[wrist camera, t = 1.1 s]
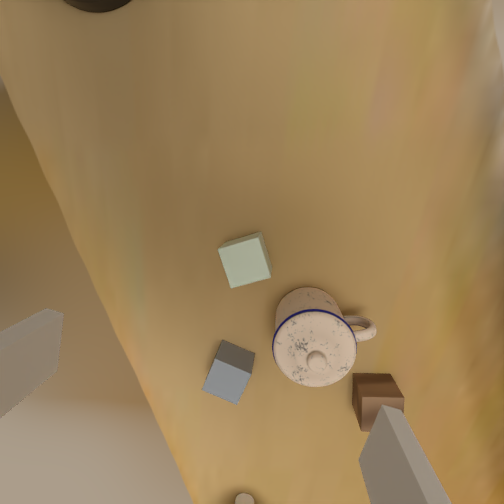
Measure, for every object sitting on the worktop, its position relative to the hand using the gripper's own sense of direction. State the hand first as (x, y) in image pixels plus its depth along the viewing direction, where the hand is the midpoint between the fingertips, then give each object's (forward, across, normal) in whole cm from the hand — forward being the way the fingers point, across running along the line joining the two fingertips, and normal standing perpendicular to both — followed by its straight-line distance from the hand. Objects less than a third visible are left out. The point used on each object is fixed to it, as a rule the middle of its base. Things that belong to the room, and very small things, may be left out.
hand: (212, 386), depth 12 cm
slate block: (+28, 0, -17) cm, 33 cm away
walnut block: (+28, +20, -16) cm, 38 cm away
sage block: (+28, -1, -1) cm, 28 cm away
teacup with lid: (+28, +10, -7) cm, 31 cm away
